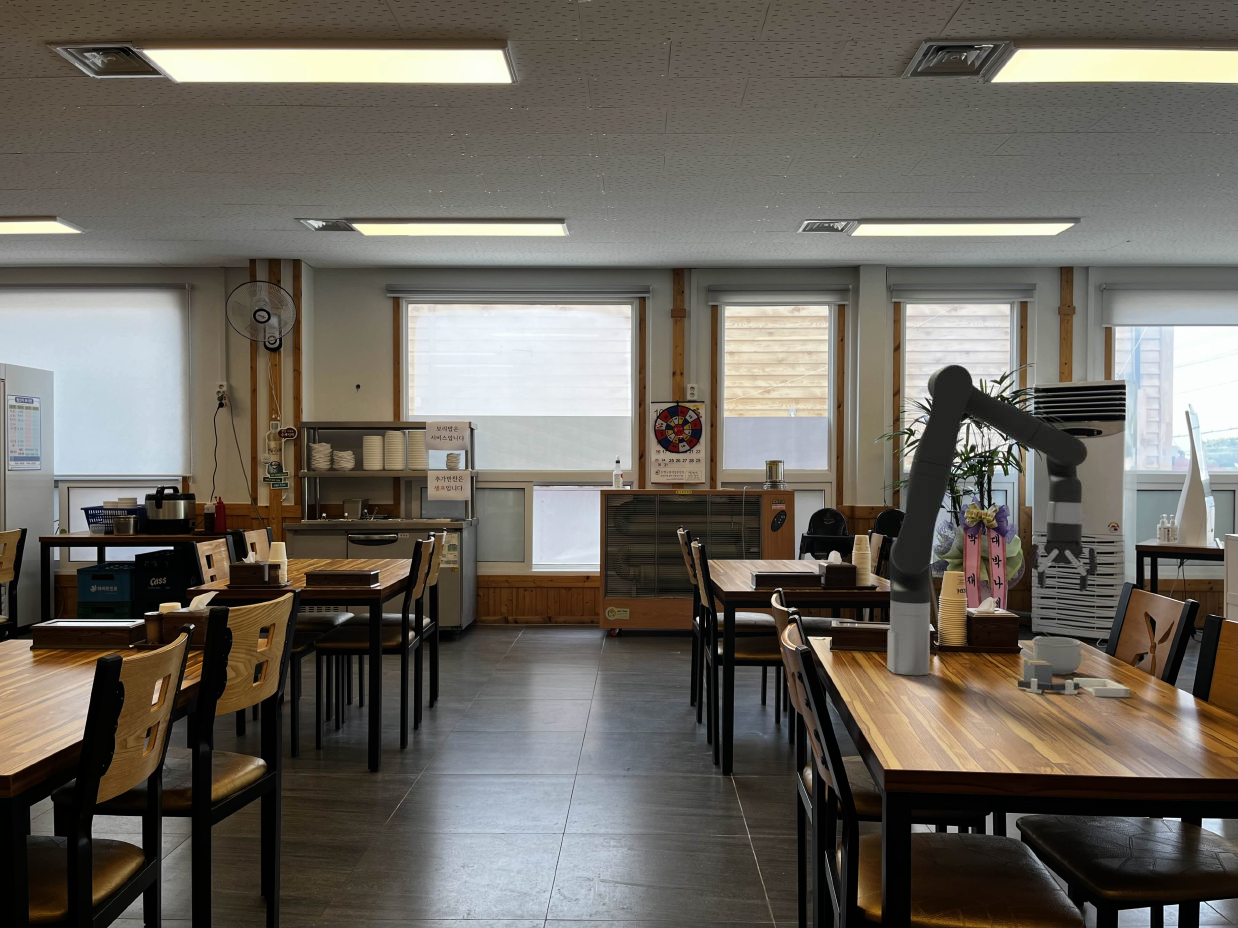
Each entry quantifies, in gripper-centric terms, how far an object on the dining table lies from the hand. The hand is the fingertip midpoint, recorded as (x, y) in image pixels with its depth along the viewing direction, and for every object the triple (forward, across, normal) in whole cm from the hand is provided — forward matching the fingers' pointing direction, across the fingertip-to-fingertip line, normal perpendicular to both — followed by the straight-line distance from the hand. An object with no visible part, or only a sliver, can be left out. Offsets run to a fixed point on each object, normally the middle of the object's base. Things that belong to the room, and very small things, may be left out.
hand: (1062, 589), depth 216 cm
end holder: (+21, +10, -8) cm, 25 cm away
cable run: (+21, +1, -16) cm, 27 cm away
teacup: (+22, -3, +10) cm, 24 cm away
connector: (+22, -3, -8) cm, 23 cm away
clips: (+21, +1, -16) cm, 27 cm away
